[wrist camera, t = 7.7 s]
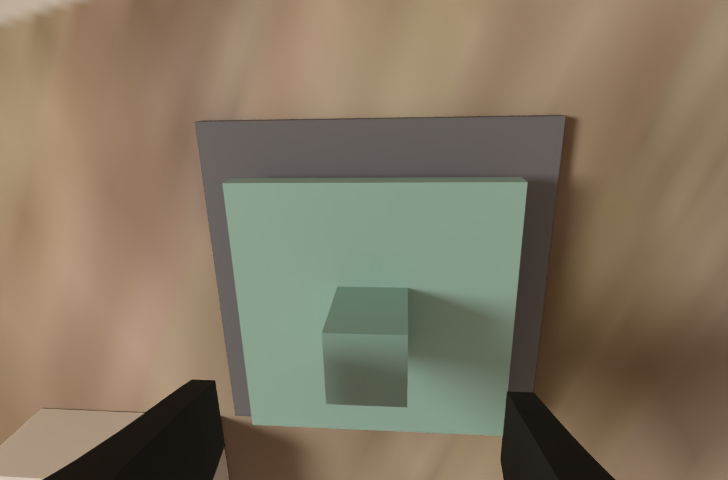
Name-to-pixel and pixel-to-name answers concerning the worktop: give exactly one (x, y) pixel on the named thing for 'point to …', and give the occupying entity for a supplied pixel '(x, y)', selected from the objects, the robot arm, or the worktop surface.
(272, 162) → the mat
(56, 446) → the storage box
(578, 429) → the worktop surface
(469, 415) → the lid
